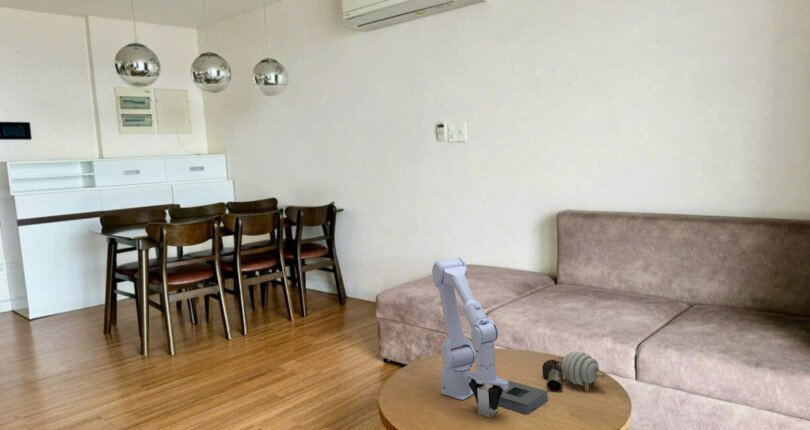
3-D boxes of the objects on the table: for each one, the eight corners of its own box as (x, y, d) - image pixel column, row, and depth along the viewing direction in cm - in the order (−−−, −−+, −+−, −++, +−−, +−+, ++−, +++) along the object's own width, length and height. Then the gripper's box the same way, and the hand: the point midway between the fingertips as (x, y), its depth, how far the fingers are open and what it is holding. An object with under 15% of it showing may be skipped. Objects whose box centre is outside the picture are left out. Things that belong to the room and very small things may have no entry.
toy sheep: (567, 374, 194) (567, 343, 193) (614, 387, 181) (613, 354, 180) (550, 384, 187) (549, 352, 186) (597, 398, 174) (596, 364, 173)
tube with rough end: (562, 393, 180) (561, 376, 179) (540, 392, 182) (540, 375, 181) (563, 371, 197) (562, 356, 196) (543, 370, 199) (543, 355, 198)
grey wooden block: (478, 413, 169) (477, 388, 168) (486, 408, 172) (485, 383, 171) (489, 417, 166) (488, 391, 165) (497, 412, 169) (496, 386, 168)
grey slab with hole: (488, 402, 176) (487, 393, 176) (509, 389, 185) (509, 380, 184) (527, 414, 166) (527, 404, 166) (547, 400, 175) (547, 391, 175)
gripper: (458, 361, 169) (460, 404, 171) (498, 372, 159) (500, 418, 161) (472, 354, 174) (474, 396, 176) (512, 364, 164) (513, 409, 166)
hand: (487, 406), depth 169 cm, fingers open, 5 cm apart
